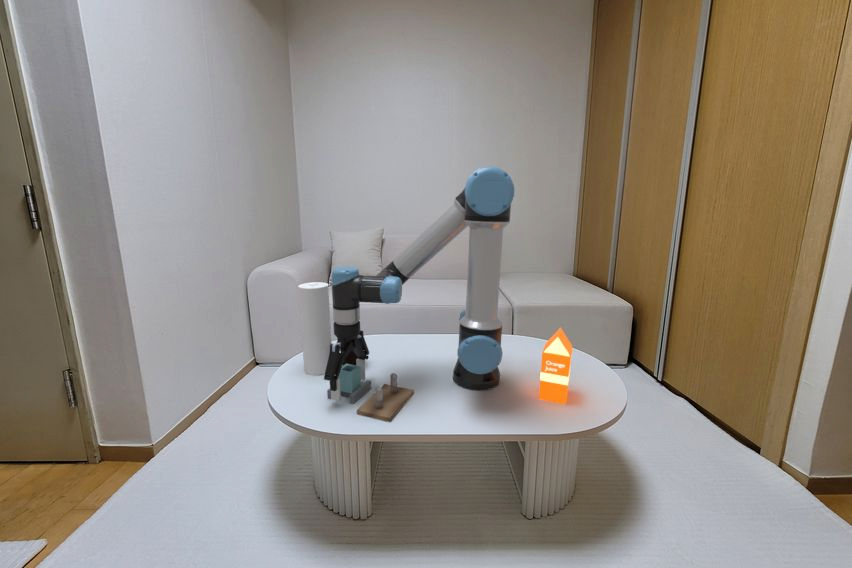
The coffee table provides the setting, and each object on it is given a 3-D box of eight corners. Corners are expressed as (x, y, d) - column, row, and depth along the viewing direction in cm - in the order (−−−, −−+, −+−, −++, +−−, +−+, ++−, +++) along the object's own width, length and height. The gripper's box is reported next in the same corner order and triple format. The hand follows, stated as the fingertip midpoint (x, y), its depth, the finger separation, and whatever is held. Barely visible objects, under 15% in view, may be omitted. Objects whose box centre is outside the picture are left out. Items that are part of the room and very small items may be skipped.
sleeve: (361, 390, 113) (360, 366, 112) (352, 398, 109) (351, 373, 107) (347, 387, 115) (346, 363, 113) (338, 395, 111) (336, 370, 109)
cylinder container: (315, 377, 122) (309, 288, 115) (298, 370, 127) (292, 284, 121) (338, 367, 129) (334, 283, 122) (321, 361, 134) (316, 279, 128)
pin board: (414, 393, 112) (414, 371, 110) (389, 422, 97) (389, 396, 96) (384, 387, 116) (384, 365, 114) (356, 414, 101) (355, 389, 99)
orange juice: (538, 399, 109) (543, 334, 105) (542, 385, 117) (546, 325, 113) (566, 405, 106) (572, 338, 102) (568, 390, 114) (574, 328, 110)
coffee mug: (352, 358, 136) (351, 332, 134) (370, 364, 131) (369, 338, 129) (327, 370, 127) (326, 342, 125) (345, 377, 122) (343, 348, 120)
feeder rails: (371, 388, 115) (370, 380, 114) (353, 404, 106) (353, 396, 105) (346, 383, 118) (346, 375, 118) (327, 398, 109) (327, 390, 109)
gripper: (358, 308, 120) (360, 369, 124) (307, 333, 97) (312, 406, 102) (379, 311, 117) (380, 373, 122) (331, 337, 94) (335, 412, 99)
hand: (349, 388), depth 112 cm, fingers open, 13 cm apart
